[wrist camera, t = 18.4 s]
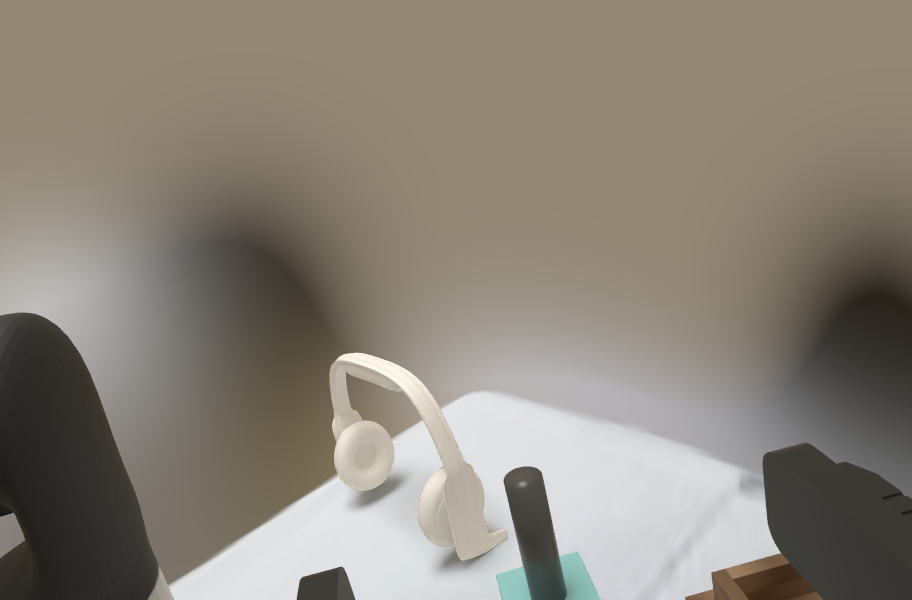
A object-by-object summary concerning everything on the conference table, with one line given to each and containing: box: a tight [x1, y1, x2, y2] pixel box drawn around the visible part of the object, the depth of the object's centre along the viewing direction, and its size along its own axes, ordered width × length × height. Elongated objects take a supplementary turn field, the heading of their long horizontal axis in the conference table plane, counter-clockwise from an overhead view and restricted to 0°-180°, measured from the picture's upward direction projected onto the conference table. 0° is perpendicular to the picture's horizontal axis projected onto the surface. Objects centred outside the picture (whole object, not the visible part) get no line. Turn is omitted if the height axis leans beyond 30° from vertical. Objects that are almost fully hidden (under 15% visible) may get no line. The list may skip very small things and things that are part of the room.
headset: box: [330, 353, 507, 561], centre depth 60 cm, size 20×7×18 cm, turn 41°
